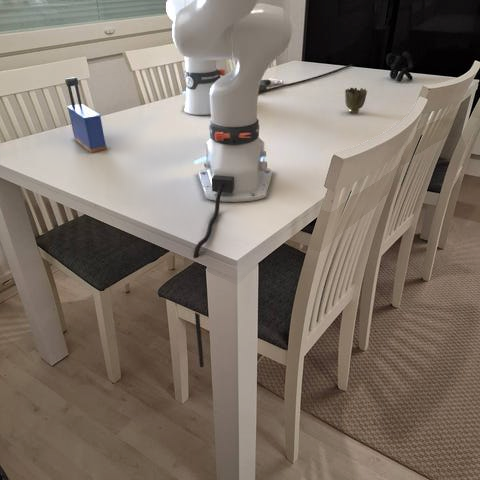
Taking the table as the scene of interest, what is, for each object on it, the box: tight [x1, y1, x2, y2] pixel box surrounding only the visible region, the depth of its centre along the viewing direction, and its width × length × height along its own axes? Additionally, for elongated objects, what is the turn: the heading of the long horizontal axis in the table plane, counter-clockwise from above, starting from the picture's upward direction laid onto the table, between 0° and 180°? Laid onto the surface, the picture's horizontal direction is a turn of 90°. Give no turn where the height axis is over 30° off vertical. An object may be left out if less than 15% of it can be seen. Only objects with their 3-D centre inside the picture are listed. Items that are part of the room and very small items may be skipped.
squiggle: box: [385, 51, 414, 83], centre depth 198 cm, size 11×10×15 cm
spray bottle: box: [258, 77, 284, 92], centre depth 191 cm, size 3×11×24 cm
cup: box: [344, 87, 368, 115], centre depth 156 cm, size 8×7×8 cm
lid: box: [64, 77, 102, 121], centre depth 129 cm, size 15×5×9 cm, turn 36°
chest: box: [67, 109, 107, 153], centre depth 134 cm, size 15×5×9 cm, turn 36°
